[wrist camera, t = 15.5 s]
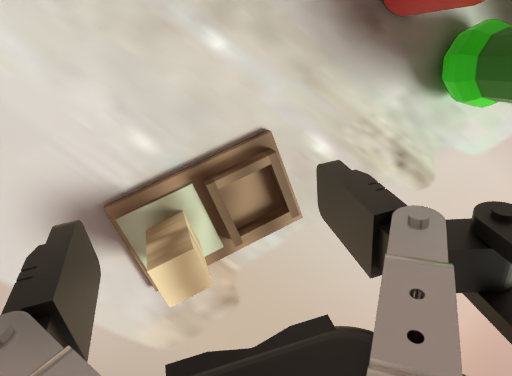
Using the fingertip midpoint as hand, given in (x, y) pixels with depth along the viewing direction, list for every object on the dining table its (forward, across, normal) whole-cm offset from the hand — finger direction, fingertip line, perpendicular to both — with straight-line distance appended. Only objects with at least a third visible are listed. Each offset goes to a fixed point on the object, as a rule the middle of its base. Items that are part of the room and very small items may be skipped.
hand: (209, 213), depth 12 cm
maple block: (+25, +4, +17) cm, 30 cm away
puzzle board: (+26, -1, +16) cm, 31 cm away
